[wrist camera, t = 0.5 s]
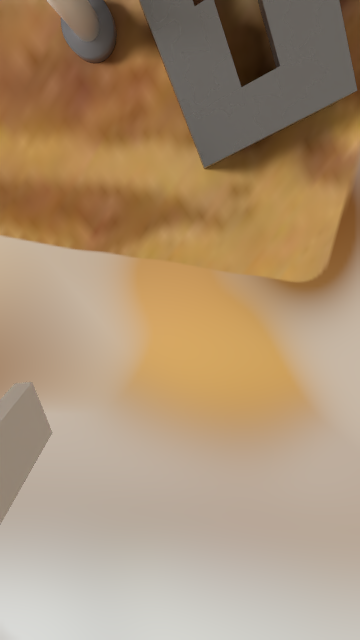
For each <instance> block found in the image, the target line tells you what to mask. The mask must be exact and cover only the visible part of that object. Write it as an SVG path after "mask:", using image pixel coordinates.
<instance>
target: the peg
mask: <svg viewBox="0 0 360 640" xmlns="http://www.w3.org/2000/svg"><path fill="white" fill-rule="evenodd" d="M47 1H48V3H49V4H50V5H51V6H52V7H53V8H54V9H55V11H56V12H57V13H58V14H59V15H60V16H61V27H62V32H63V35H64V38H65V40H66V42H67V43H68V45H69V46H70V47H71V49H72V50H73V51H74V52H75V53H76V54H77V55H78V56H79V57H81V58H82V59H83V60H85V61H87V62H90V63H99V62H102V61H104V60H105V59H107V58H108V57H109V56H110V54H111V53H112V51H113V49H114V47H115V43H116V36H117V33H116V25H115V21H114V19H113V16H112V14H111V12H110V11H109V9H108V7H107V5H106V4H105V2H104V1H103V0H47Z"/></svg>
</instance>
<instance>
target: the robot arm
mask: <svg viewBox="0 0 360 640" xmlns="http://www.w3.org/2000/svg"><path fill="white" fill-rule="evenodd" d="M51 434H52V430H51V428H50V425H49V423H48V420H47V418H46V415H45V413H44V410H43V408H42V406H41V403H40V400H39V398H38V395H37V393H36V391H35V388H34V386H33V383H32V382H27V383H15V384H14V385H13V386H12V387H11V388H10V389H9V390H8V392H7V393H6V394H5V395H4V396H3V397H2V399H1V400H0V524H1V522H2V520H3V519H4V517H5V515H6V514H7V512H8V510H9V508H10V507H11V505H12V503H13V501H14V499H15V498H16V496H17V494H18V492H19V490H20V489H21V487H22V485H23V484H24V482H25V480H26V478H27V476H28V474H29V473H30V471H31V469H32V468H33V466H34V464H35V462H36V461H37V459H38V457H39V455H40V454H41V452H42V450H43V448H44V447H45V445H46V443H47V441H48V439H49V438H50V436H51Z"/></svg>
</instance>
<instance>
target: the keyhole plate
mask: <svg viewBox="0 0 360 640" xmlns="http://www.w3.org/2000/svg"><path fill="white" fill-rule="evenodd" d="M139 2H140V4H141V7H142V10H143V12H144V15H145V17H146V20H147V22H148V25H149V28H150V30H151V33H152V35H153V38H154V40H155V43H156V46H157V48H158V51H159V53H160V56H161V59H162V61H163V64H164V66H165V69H166V71H167V74H168V77H169V79H170V82H171V84H172V87H173V90H174V92H175V95H176V97H177V100H178V102H179V105H180V108H181V110H182V113H183V115H184V118H185V120H186V123H187V126H188V128H189V131H190V133H191V136H192V139H193V141H194V144H195V146H196V149H197V151H198V154H199V157H200V159H201V162H202V164H203V167H204V169H206V168H207V167H209V166H211V165H213V164H215V163H217V162H219V161H221V160H223V159H225V158H227V157H229V156H231V155H233V154H235V153H237V152H239V151H241V150H243V149H245V148H247V147H249V146H251V145H253V144H255V143H257V142H259V141H261V140H263V139H265V138H267V137H269V136H271V135H273V134H275V133H277V132H279V131H281V130H283V129H285V128H287V127H289V126H291V125H293V124H295V123H297V122H299V121H301V120H302V119H304V118H306V117H308V116H310V115H312V114H314V113H316V112H318V111H320V110H322V109H324V108H326V107H328V106H330V105H332V104H334V103H336V102H338V101H340V100H342V99H343V98H345V97H347V96H349V95H350V94H352V93H354V92H356V91H357V86H356V81H355V76H354V71H353V66H352V61H351V56H350V51H349V46H348V41H347V36H346V31H345V26H344V21H343V16H342V11H341V6H340V1H339V0H258V4H259V7H260V11H261V14H262V18H263V22H264V25H265V29H266V32H267V36H268V40H269V43H270V47H271V51H272V54H273V58H274V61H275V65H276V69H274V70H272V71H270V72H268V73H267V74H265V75H263V76H261V77H259V78H258V79H256V80H254V81H252V82H250V83H249V84H247V85H245V86H243V87H241V84H240V81H239V78H238V75H237V72H236V68H235V65H234V62H233V59H232V56H231V53H230V50H229V46H228V43H227V40H226V37H225V34H224V31H223V28H222V24H221V21H220V18H219V15H218V12H217V9H216V5H215V2H214V0H204V1H202V2H201V3H199V4H198V5H196V6H194V3H193V0H139Z"/></svg>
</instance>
